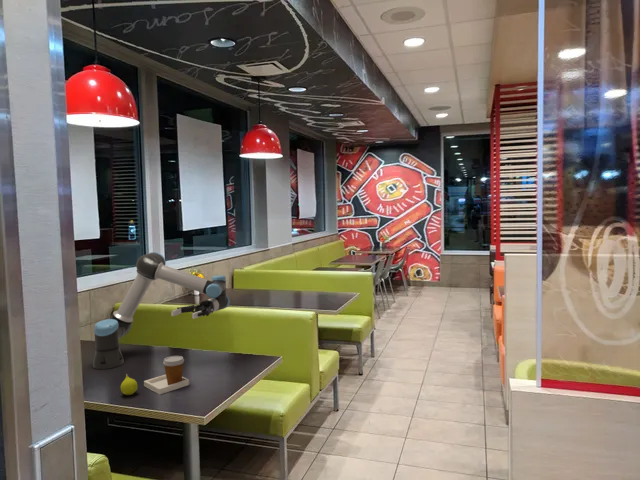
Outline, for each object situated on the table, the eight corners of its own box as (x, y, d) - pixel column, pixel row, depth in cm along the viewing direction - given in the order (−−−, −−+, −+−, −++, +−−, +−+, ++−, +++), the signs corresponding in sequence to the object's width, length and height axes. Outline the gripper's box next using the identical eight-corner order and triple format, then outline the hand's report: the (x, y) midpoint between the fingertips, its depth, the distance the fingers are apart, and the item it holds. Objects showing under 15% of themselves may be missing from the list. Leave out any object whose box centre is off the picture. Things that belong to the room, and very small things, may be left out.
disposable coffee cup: (179, 387, 214) (178, 362, 213) (160, 386, 215) (159, 361, 214) (188, 380, 223) (187, 355, 222) (169, 379, 224) (168, 355, 224)
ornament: (126, 391, 213) (125, 369, 213) (140, 391, 213) (139, 370, 212) (117, 397, 206) (116, 375, 205) (132, 397, 205) (131, 375, 205)
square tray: (144, 386, 219) (143, 381, 218) (173, 377, 229) (172, 372, 229) (159, 394, 208) (159, 389, 208) (189, 384, 219) (189, 379, 219)
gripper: (227, 315, 250) (202, 324, 230) (191, 311, 260) (163, 319, 241) (227, 301, 249) (201, 309, 230) (190, 298, 259) (163, 305, 240)
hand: (182, 314), depth 235 cm, fingers open, 13 cm apart
